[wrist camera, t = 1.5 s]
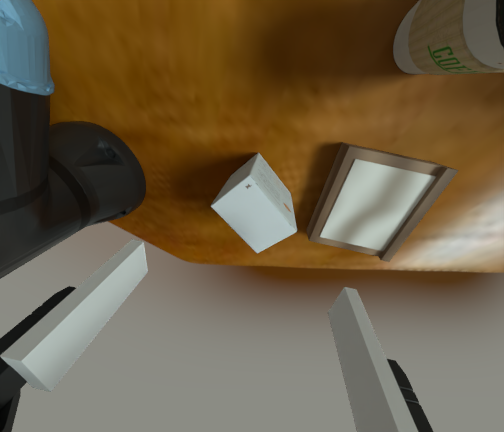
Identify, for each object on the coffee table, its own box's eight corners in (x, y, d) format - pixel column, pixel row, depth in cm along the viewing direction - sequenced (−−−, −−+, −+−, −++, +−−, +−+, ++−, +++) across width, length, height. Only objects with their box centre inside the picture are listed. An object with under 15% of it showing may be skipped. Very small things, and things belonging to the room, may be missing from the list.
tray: (306, 229, 31) (309, 243, 28) (342, 142, 24) (351, 147, 21) (377, 245, 31) (388, 261, 28) (433, 162, 24) (458, 170, 21)
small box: (230, 174, 28) (207, 205, 19) (259, 150, 26) (248, 172, 17) (263, 212, 31) (256, 255, 22) (292, 193, 29) (298, 232, 19)
